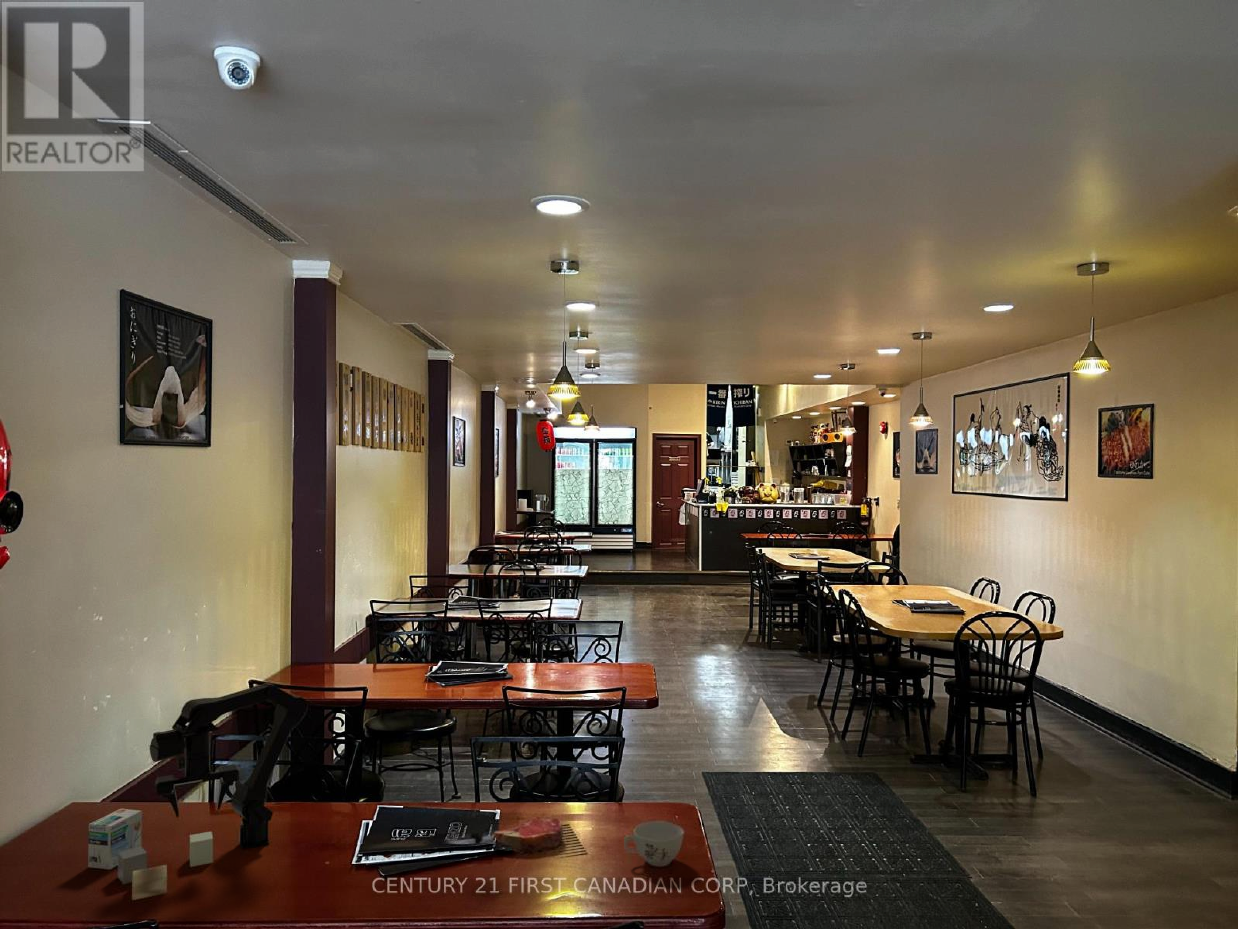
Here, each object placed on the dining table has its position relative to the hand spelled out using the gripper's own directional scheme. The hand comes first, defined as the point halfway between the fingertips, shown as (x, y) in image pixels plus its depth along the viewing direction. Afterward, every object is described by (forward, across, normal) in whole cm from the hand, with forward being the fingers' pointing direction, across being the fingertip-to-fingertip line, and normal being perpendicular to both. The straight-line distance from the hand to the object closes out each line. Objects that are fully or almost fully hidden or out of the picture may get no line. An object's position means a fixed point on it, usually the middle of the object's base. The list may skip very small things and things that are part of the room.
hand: (198, 813), depth 214 cm
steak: (+14, -77, +33) cm, 85 cm away
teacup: (+14, -100, +57) cm, 116 cm away
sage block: (+12, 0, 0) cm, 12 cm away
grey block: (+12, +15, +2) cm, 19 cm away
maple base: (+12, +11, +12) cm, 20 cm away
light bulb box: (+12, +18, -11) cm, 24 cm away
